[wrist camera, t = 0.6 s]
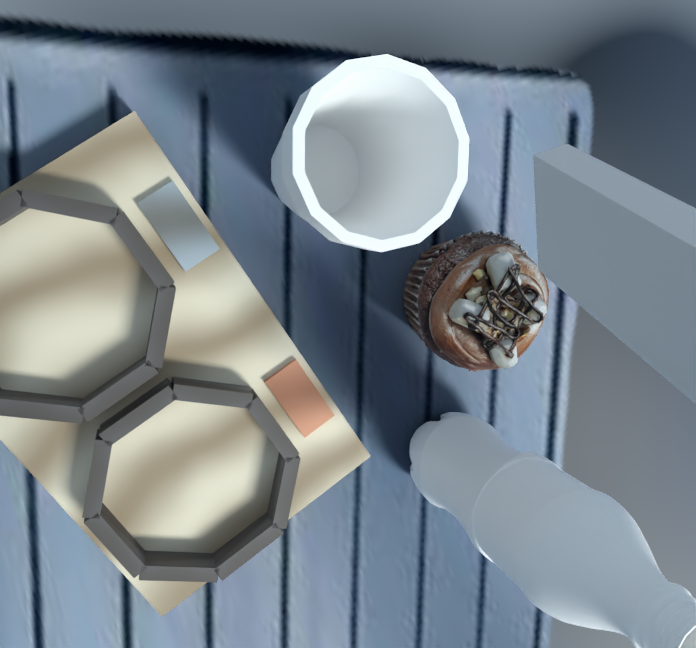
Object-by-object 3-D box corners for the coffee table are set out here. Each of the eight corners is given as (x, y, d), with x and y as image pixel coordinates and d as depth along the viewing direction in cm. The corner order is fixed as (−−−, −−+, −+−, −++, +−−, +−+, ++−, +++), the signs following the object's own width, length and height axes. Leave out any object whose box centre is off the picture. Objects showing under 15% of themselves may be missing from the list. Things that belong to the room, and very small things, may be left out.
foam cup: (343, 263, 46) (419, 282, 33) (224, 203, 42) (259, 198, 30) (401, 142, 45) (498, 116, 33) (285, 72, 42) (346, 15, 30)
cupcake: (464, 377, 50) (540, 414, 41) (366, 316, 47) (424, 342, 37) (527, 272, 50) (616, 285, 41) (433, 203, 47) (507, 201, 38)
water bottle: (396, 411, 49) (636, 594, 25) (480, 397, 51) (773, 555, 27) (399, 499, 50) (630, 750, 27) (481, 482, 52) (762, 702, 29)
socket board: (363, 449, 48) (380, 466, 45) (161, 604, 45) (163, 634, 42) (134, 114, 40) (134, 105, 37) (-134, 278, 37) (-160, 285, 34)
